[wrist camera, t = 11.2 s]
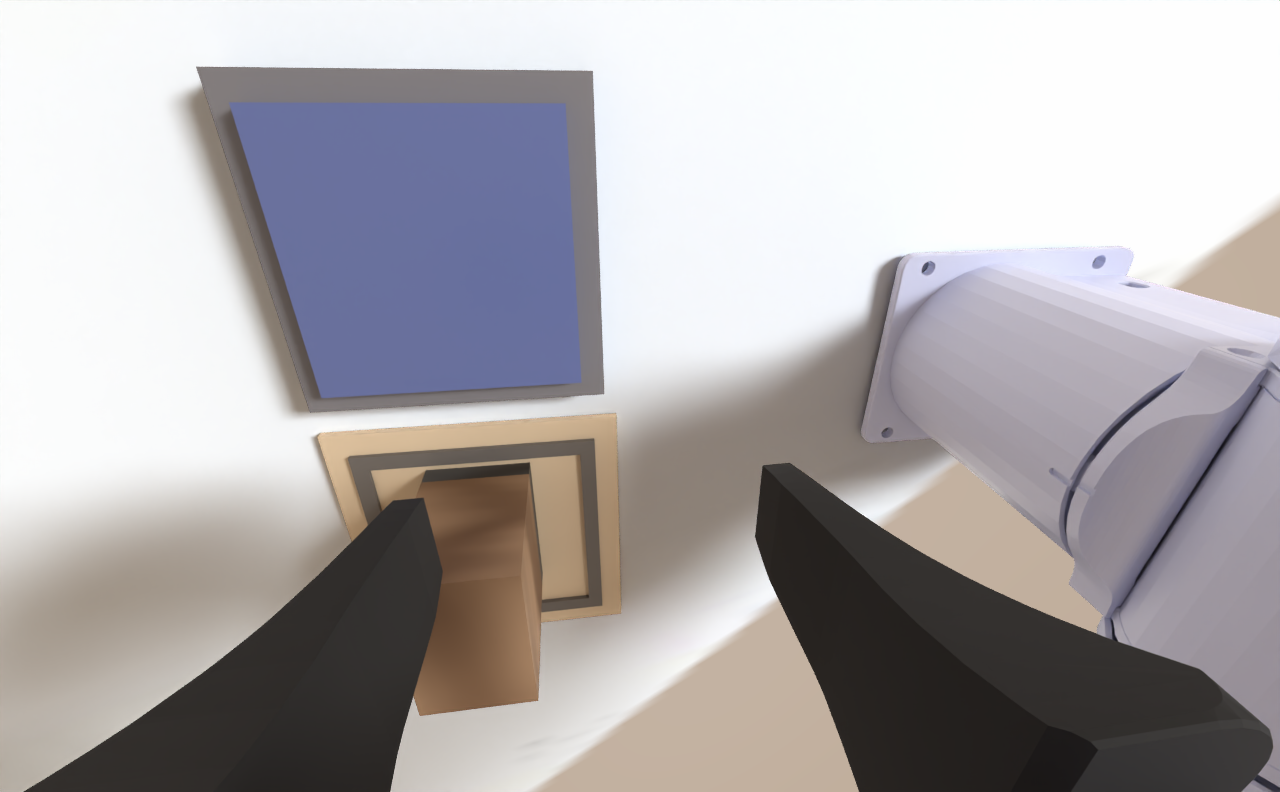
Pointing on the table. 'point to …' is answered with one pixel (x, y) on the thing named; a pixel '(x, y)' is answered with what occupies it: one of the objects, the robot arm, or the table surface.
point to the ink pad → (422, 228)
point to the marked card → (562, 484)
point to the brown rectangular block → (483, 589)
